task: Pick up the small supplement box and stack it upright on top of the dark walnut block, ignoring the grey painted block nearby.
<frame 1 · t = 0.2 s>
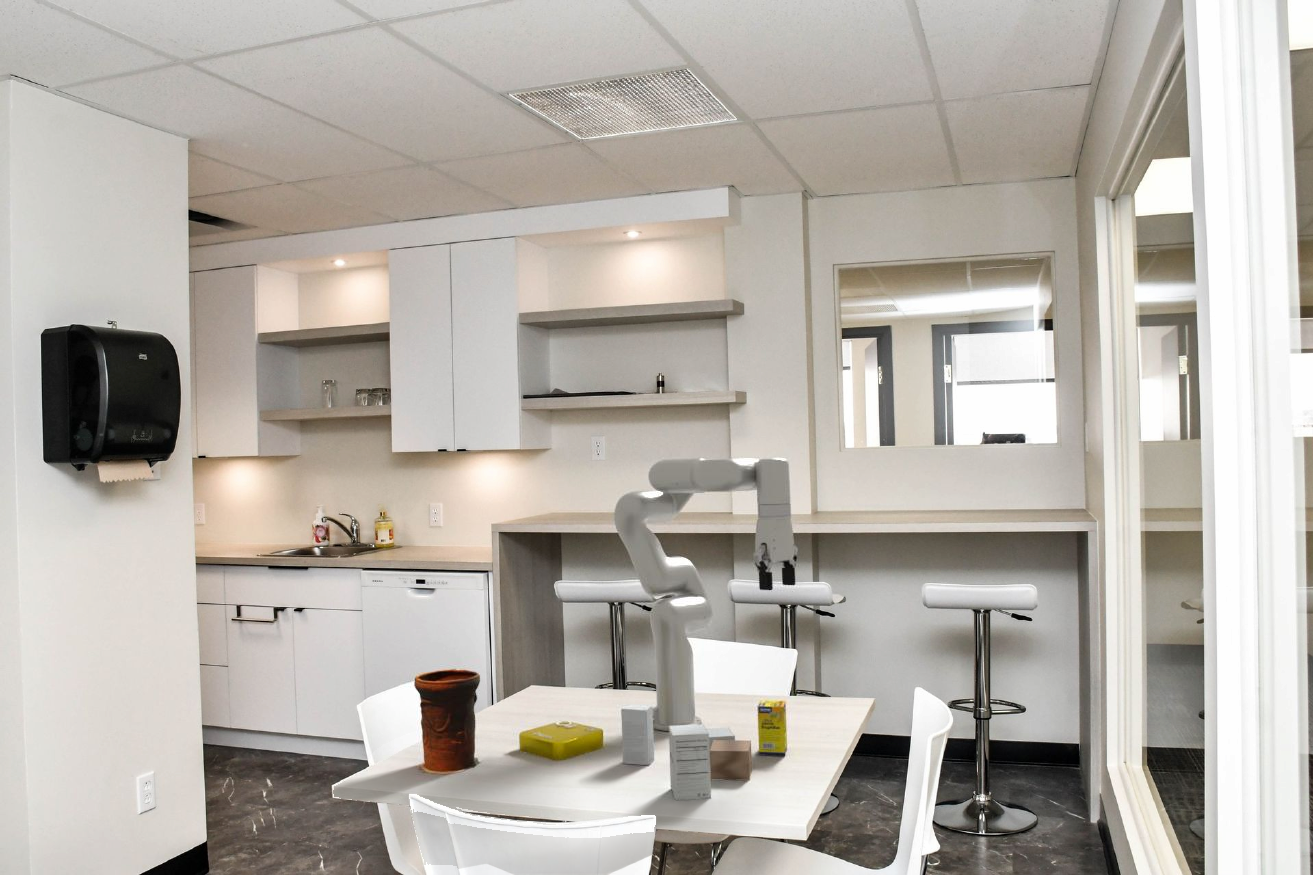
hand: (777, 587, 227), 36 cm above the table, tool pointing down, fingers open, 9 cm apart
element tile: (561, 750, 232), on the table
walnut block: (731, 774, 209), on the table
supplement box 2: (690, 794, 197), on the table
grey block: (717, 759, 219), on the table
vessel: (449, 765, 222), on the table
skincare box: (638, 762, 219), on the table
supplement box: (773, 753, 223), on the table
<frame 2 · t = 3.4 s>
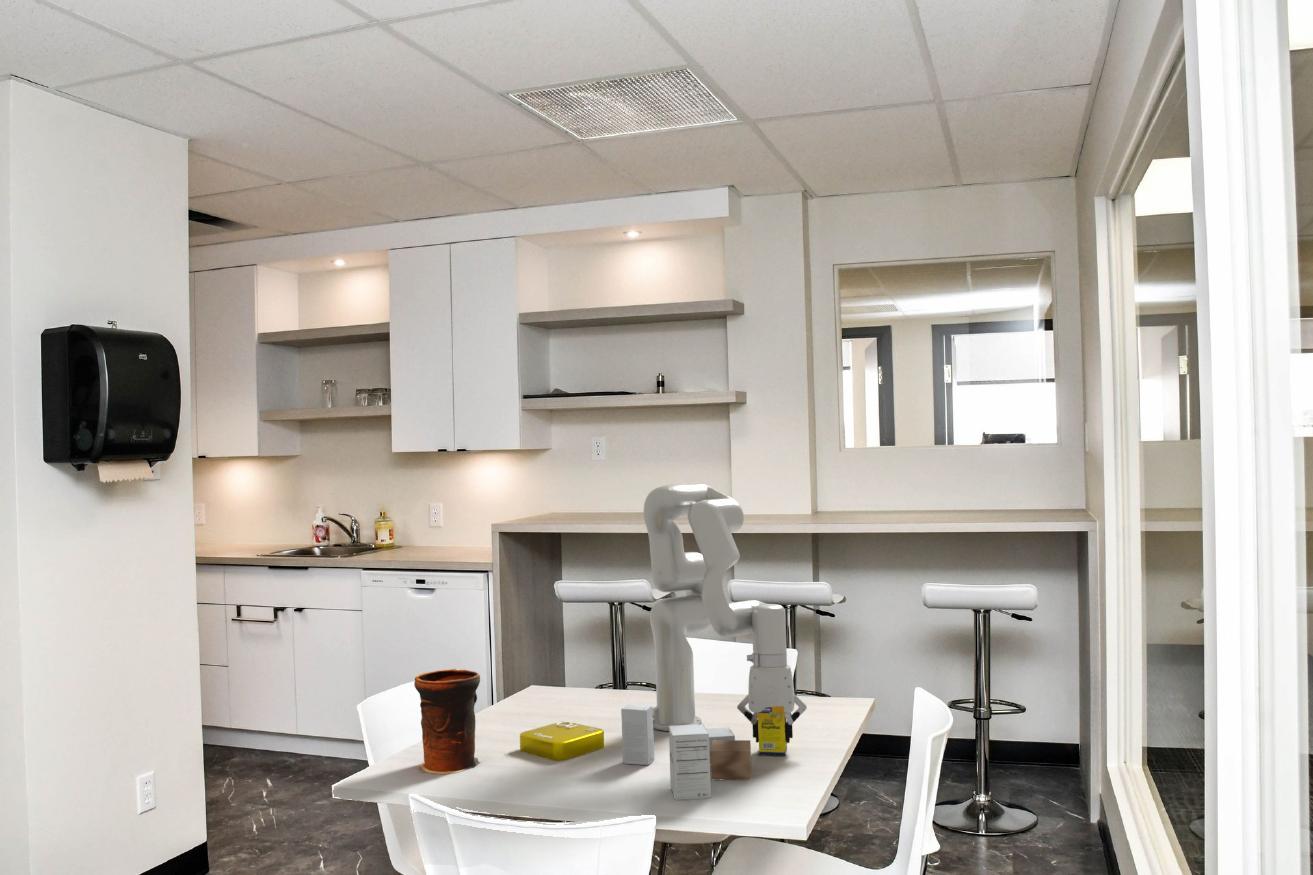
hand: (772, 740, 223), 3 cm above the table, tool pointing down, fingers closed on supplement box, 6 cm apart
supplement box: (773, 752, 223), on the table, touching gripper
everything else where it was.
when the fingers open (10 cm above the table, at t = 8.7 s): supplement box drops 1 cm, point 6 cm above the table.
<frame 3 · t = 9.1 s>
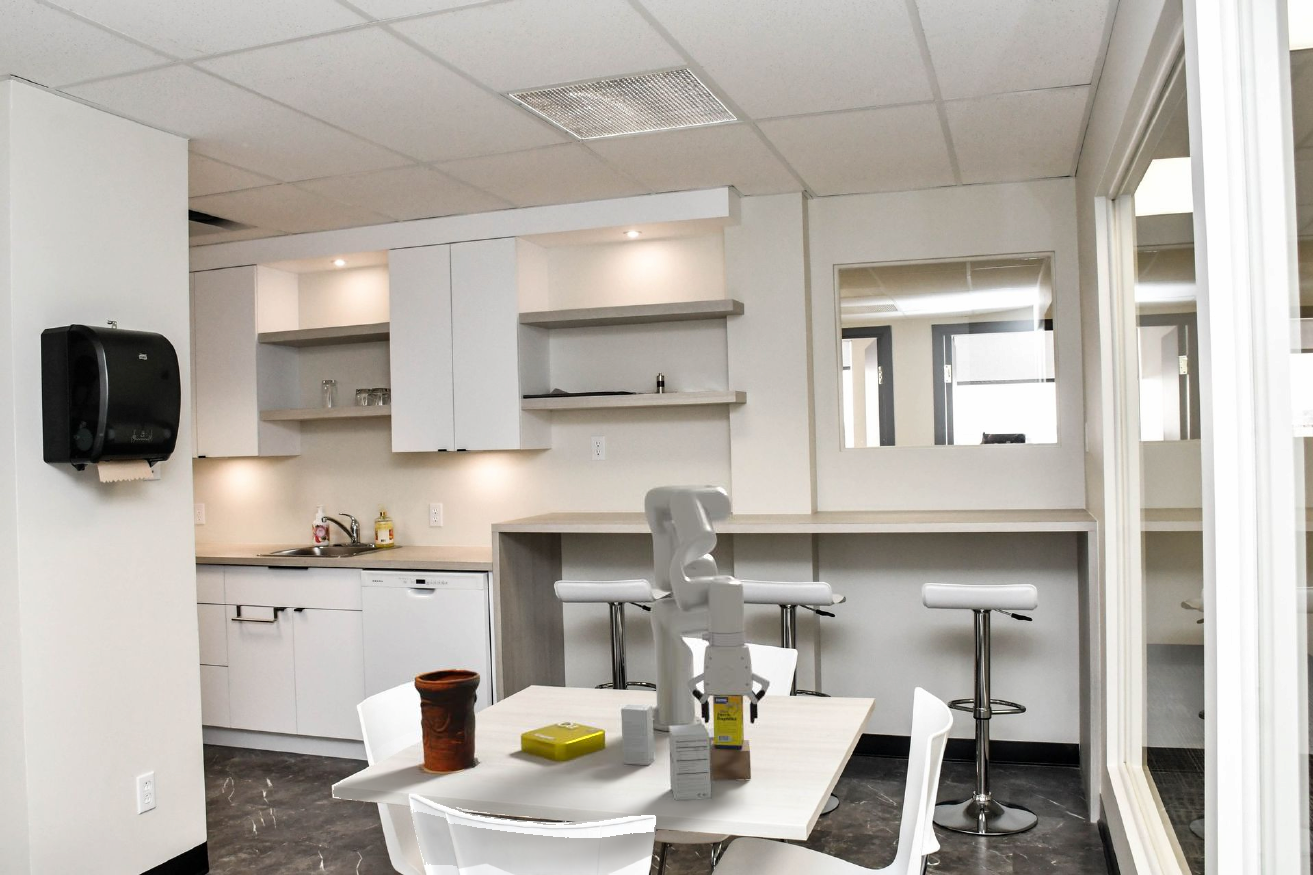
hand: (729, 721, 209), 11 cm above the table, tool pointing down, fingers open, 9 cm apart
supplement box: (729, 745, 209), point 6 cm above the table
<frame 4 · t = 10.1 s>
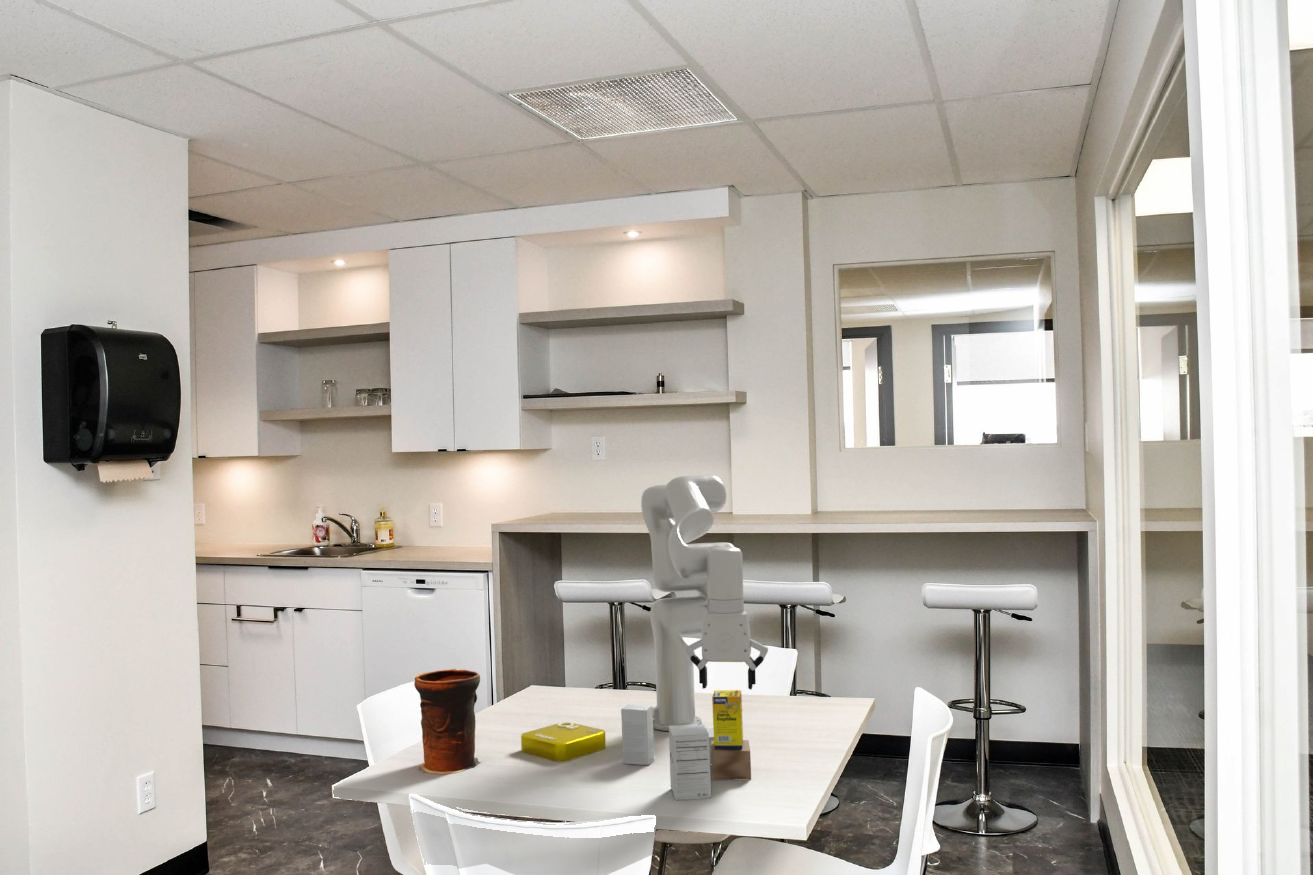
hand: (727, 687, 210), 18 cm above the table, tool pointing down, fingers open, 9 cm apart
walnut block: (731, 774, 209), on the table, touching supplement box
supplement box: (729, 746, 209), point 6 cm above the table, touching walnut block
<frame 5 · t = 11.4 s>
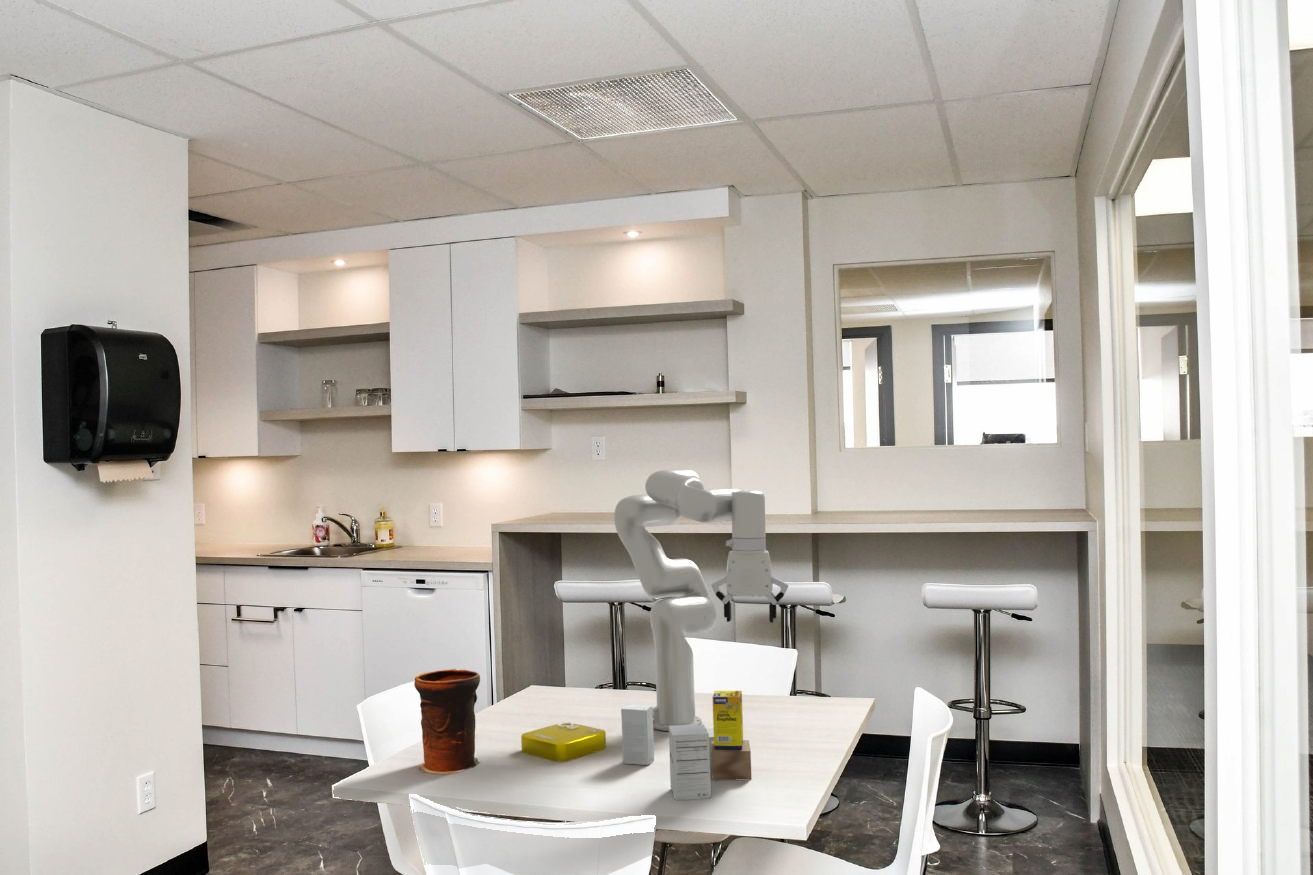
hand: (750, 621, 225), 29 cm above the table, tool pointing down, fingers open, 9 cm apart
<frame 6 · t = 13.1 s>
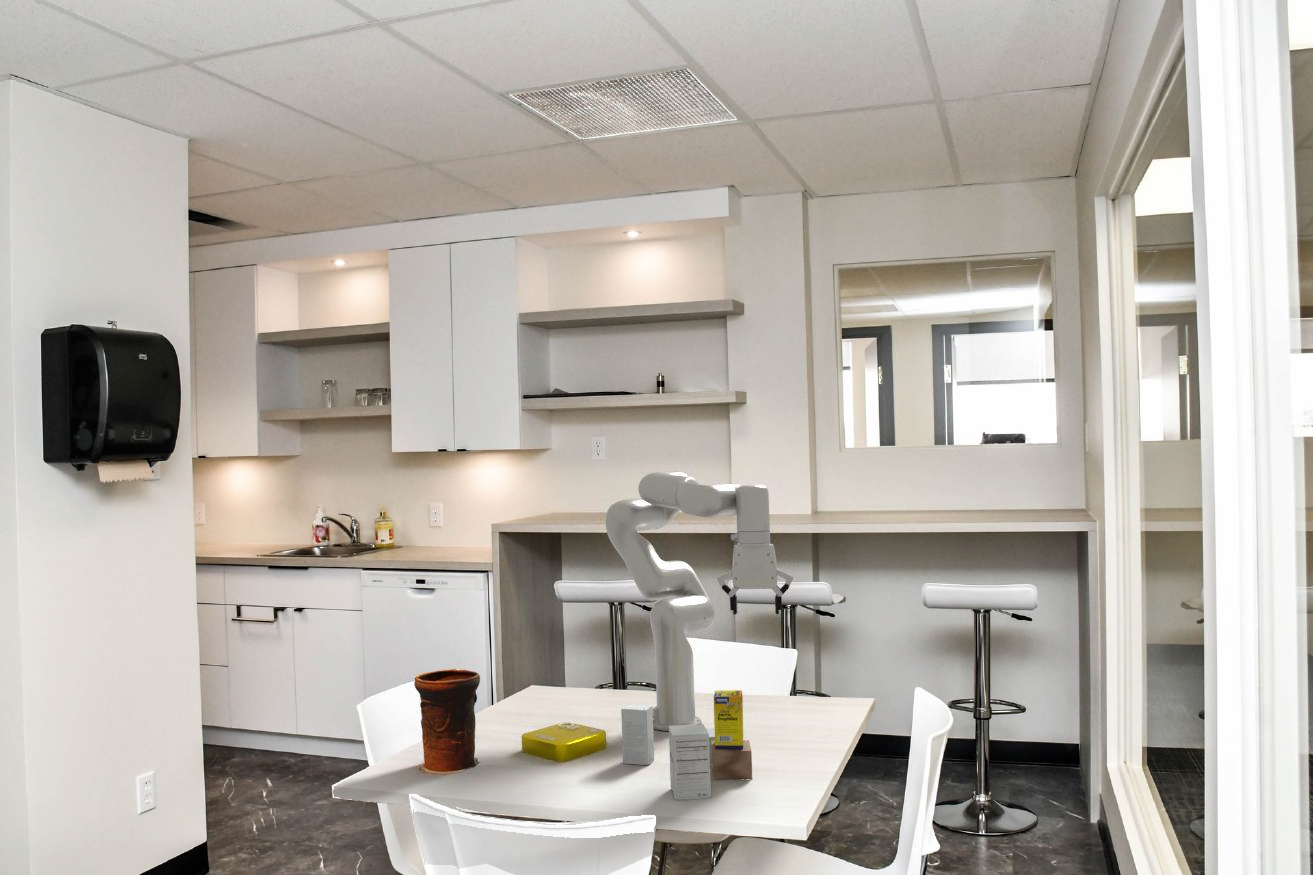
hand: (756, 613, 229), 30 cm above the table, tool pointing down, fingers open, 9 cm apart
at the end: supplement box 0.4 cm off-centre on the walnut block, point 5.8 cm above the walnut block's base; supplement box tilted 0°; the gripper is holding nothing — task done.
